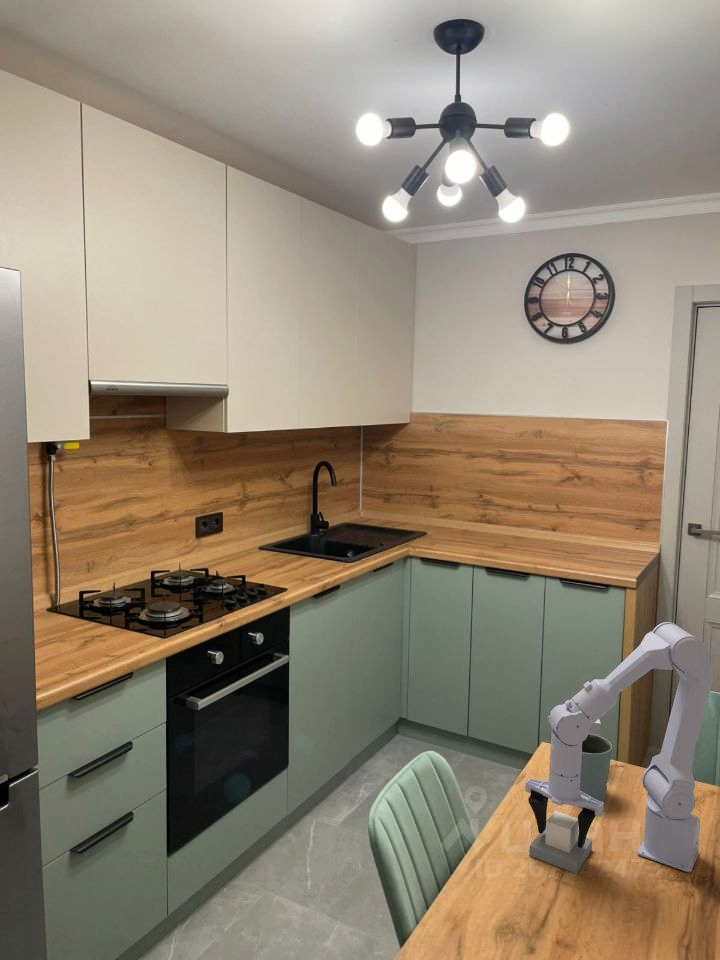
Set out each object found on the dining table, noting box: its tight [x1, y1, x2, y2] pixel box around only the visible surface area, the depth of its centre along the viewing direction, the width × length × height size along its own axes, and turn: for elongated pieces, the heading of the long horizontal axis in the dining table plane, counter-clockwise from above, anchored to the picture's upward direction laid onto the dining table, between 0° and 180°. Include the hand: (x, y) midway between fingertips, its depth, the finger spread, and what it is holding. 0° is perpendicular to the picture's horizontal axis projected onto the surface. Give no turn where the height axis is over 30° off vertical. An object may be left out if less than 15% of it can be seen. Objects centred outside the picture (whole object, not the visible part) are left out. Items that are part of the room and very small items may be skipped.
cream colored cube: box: [545, 810, 579, 853], centre depth 138 cm, size 5×5×4 cm
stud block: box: [529, 829, 593, 875], centre depth 138 cm, size 9×9×4 cm
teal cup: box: [580, 733, 613, 802], centre depth 159 cm, size 10×10×12 cm
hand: (561, 838), depth 138 cm, fingers open, 7 cm apart
